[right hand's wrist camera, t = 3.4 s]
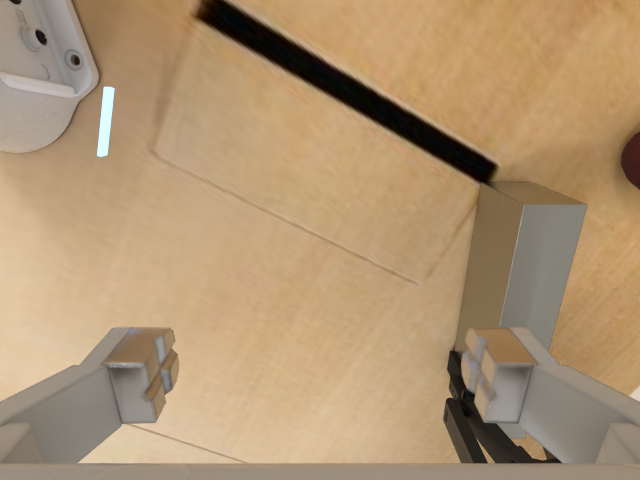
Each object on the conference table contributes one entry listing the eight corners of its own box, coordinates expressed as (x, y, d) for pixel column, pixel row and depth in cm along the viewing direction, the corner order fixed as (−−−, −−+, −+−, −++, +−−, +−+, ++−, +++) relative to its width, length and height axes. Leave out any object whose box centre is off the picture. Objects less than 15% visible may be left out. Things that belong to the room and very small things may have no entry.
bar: (480, 181, 38) (524, 204, 30) (531, 181, 38) (587, 204, 30) (449, 381, 47) (476, 438, 39) (490, 380, 47) (525, 438, 39)
